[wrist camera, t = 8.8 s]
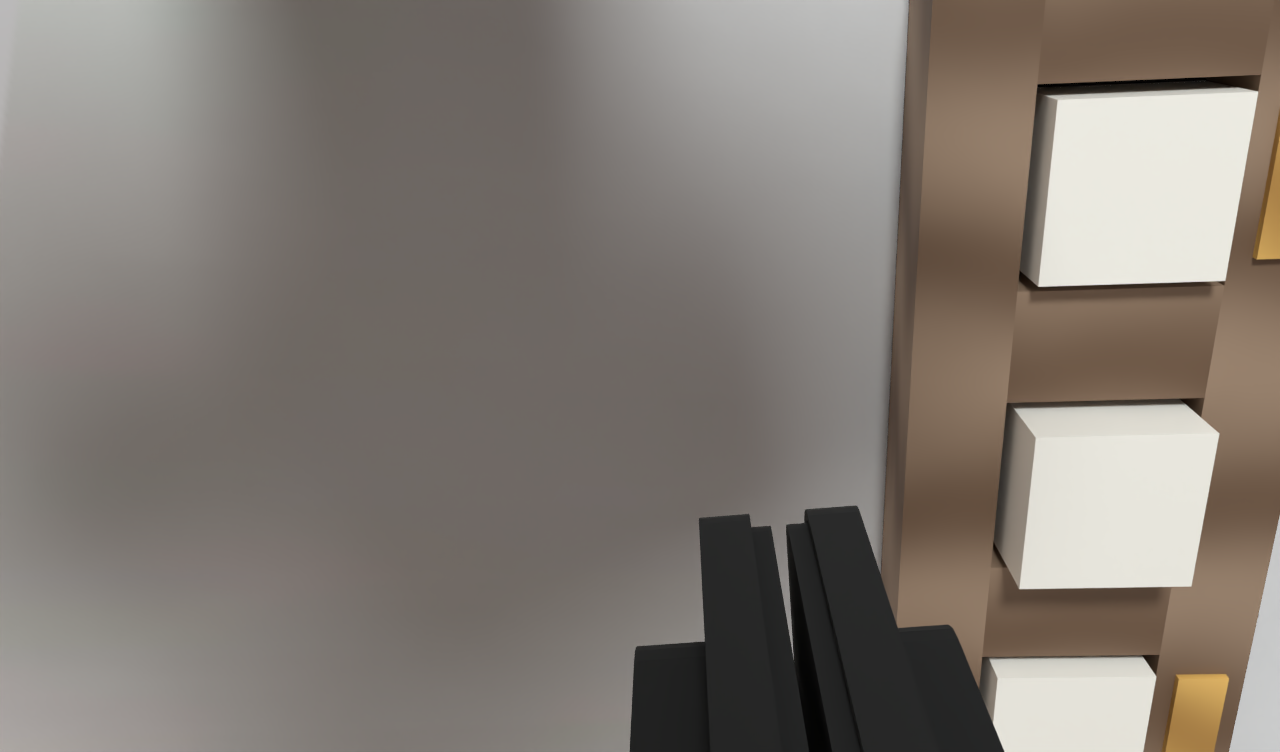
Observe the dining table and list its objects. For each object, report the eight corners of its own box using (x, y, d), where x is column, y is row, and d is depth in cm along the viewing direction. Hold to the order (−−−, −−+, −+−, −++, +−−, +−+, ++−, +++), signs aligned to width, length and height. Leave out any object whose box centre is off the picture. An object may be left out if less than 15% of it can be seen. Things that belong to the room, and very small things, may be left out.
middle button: (1005, 398, 27) (1036, 437, 25) (1173, 393, 27) (1219, 433, 25) (992, 539, 29) (1019, 588, 27) (1150, 536, 29) (1191, 586, 26)
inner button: (1023, 88, 25) (1057, 99, 23) (1205, 80, 25) (1258, 91, 23) (1007, 259, 27) (1038, 286, 24) (1177, 253, 26) (1225, 280, 24)
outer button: (974, 625, 31) (997, 678, 29) (1120, 623, 31) (1156, 676, 28) (963, 739, 33) (985, 798, 30) (1102, 738, 32) (1135, 797, 30)
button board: (911, -50, 25) (937, -52, 22) (1336, -71, 24) (1412, -76, 22) (869, 804, 35) (883, 869, 32) (1169, 803, 34) (1207, 869, 31)
